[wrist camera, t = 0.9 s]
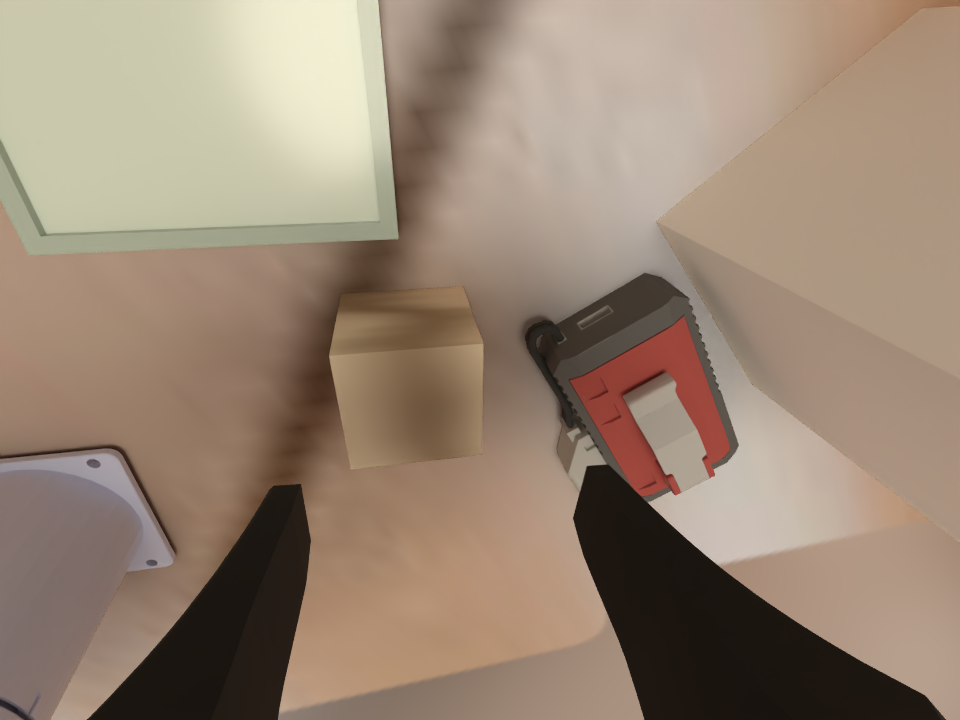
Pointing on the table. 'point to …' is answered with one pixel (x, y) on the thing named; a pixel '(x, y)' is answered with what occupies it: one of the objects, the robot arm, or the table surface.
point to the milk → (851, 262)
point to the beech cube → (408, 376)
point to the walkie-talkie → (636, 389)
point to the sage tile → (193, 124)
